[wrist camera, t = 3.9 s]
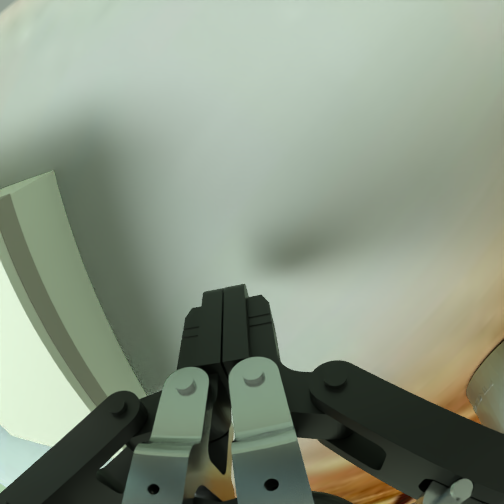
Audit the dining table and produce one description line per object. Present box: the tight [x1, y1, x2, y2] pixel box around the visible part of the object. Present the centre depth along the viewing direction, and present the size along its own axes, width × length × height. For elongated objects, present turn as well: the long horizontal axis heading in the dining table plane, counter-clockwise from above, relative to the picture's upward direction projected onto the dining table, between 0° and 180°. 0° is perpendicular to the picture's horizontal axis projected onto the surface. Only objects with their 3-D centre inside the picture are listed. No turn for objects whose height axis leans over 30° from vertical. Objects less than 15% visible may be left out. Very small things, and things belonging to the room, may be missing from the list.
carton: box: [0, 170, 147, 458], centre depth 12 cm, size 10×14×5 cm
